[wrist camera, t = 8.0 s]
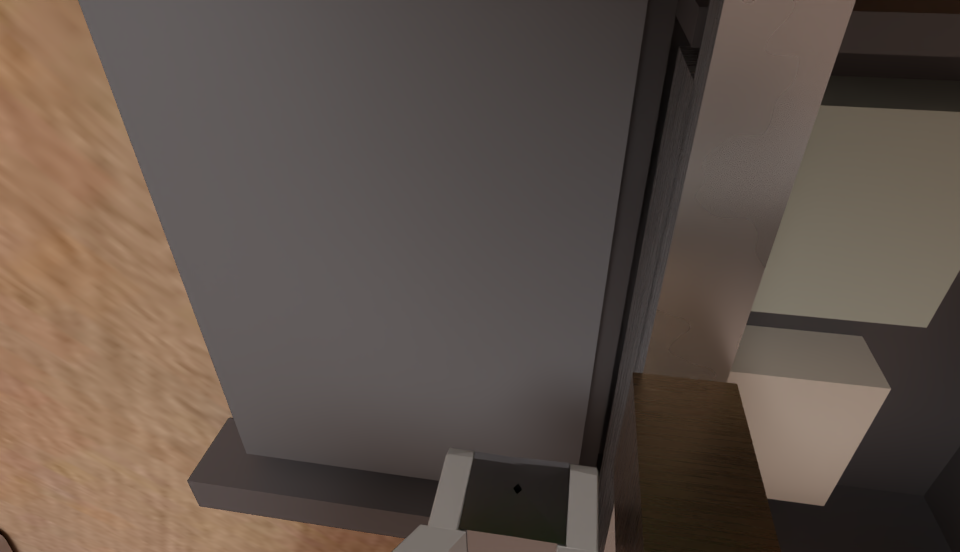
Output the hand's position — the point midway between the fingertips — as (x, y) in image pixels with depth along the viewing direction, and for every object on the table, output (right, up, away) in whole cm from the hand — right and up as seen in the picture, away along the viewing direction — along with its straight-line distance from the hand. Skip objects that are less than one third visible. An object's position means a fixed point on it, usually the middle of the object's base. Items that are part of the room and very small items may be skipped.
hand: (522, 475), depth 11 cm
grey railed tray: (-3, +4, +7) cm, 8 cm away
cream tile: (+7, 0, +7) cm, 10 cm away
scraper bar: (+4, +2, +4) cm, 6 cm away
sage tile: (+7, +6, +3) cm, 10 cm away
